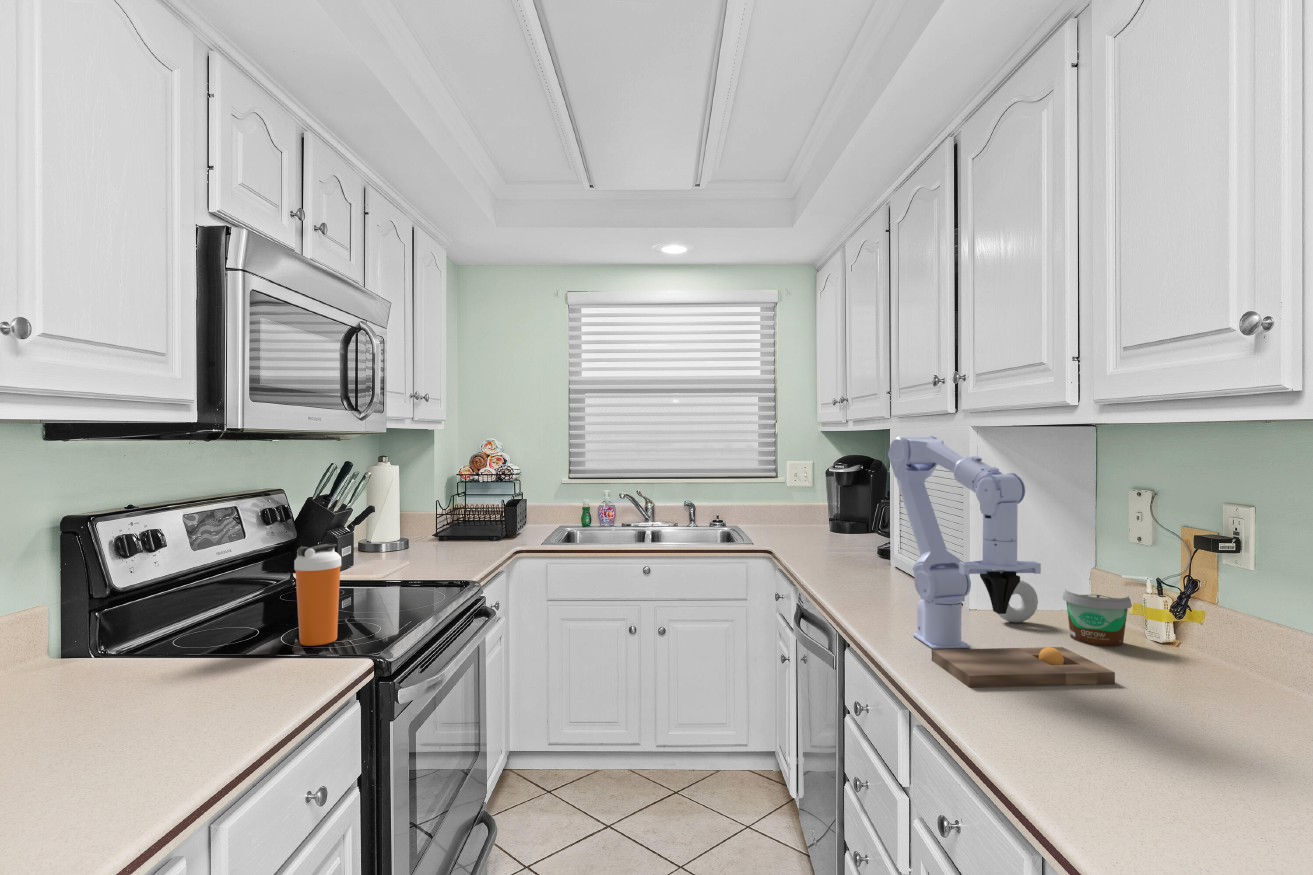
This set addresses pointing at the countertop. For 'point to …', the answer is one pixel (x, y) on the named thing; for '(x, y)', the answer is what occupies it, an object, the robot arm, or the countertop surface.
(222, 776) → the countertop surface
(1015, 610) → the donut
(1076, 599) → the food container
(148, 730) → the countertop surface
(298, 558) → the shaker bottle
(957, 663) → the board
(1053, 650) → the ball
